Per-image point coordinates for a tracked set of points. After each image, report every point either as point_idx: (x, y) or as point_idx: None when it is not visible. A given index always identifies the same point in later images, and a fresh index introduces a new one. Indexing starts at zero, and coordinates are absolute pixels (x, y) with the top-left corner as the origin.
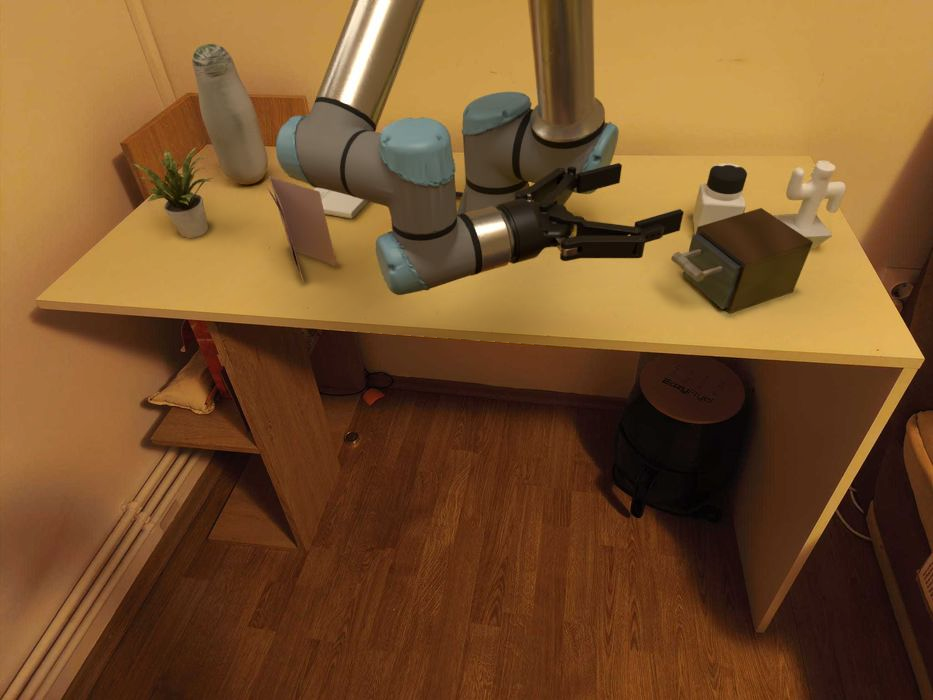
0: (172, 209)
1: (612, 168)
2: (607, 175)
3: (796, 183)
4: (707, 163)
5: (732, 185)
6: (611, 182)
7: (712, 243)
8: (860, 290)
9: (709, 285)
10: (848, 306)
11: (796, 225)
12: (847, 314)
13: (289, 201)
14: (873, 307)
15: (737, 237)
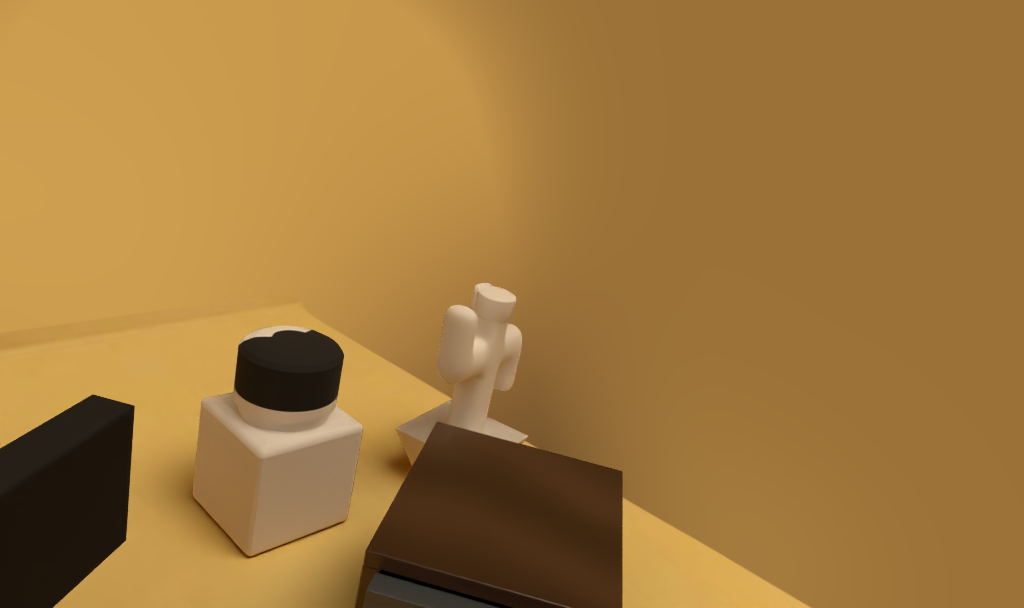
0: None
1: (70, 455)
2: (35, 531)
3: (467, 342)
4: (121, 349)
5: (326, 381)
6: (72, 568)
7: (415, 582)
8: (645, 532)
9: None
10: (678, 582)
11: None
12: (701, 604)
13: None
14: (700, 560)
15: (497, 535)
